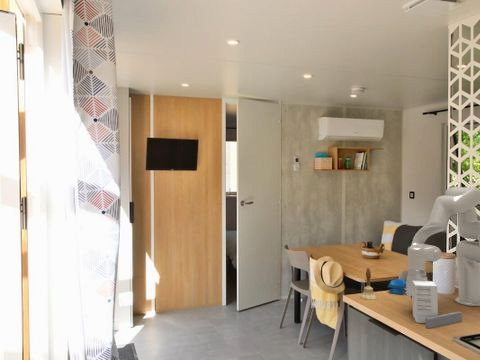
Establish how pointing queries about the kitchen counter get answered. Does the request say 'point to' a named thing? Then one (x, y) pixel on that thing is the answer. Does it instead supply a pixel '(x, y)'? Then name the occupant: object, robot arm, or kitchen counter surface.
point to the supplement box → (424, 300)
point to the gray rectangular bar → (443, 319)
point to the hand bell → (368, 288)
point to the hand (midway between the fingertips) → (417, 311)
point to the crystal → (398, 286)
